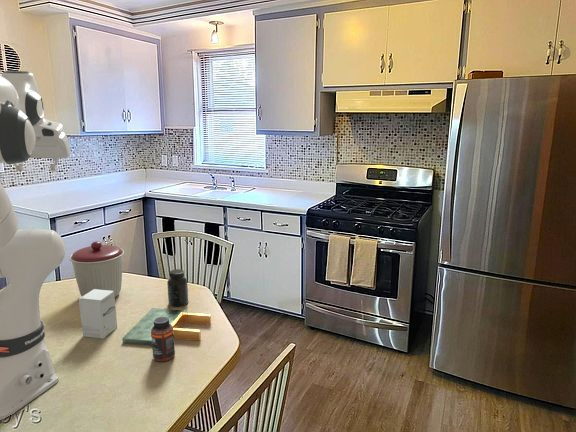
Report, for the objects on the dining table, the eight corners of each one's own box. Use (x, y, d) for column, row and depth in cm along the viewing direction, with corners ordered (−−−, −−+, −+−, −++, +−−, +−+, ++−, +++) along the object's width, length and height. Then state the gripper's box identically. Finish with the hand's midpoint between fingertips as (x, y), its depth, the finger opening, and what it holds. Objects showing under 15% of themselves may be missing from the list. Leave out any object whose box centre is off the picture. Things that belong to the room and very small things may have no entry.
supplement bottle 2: (178, 297, 155) (176, 266, 152) (192, 301, 152) (190, 270, 149) (164, 304, 149) (162, 272, 147) (178, 309, 146) (176, 276, 143)
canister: (62, 303, 149) (55, 246, 144) (98, 284, 166) (93, 232, 161) (105, 310, 144) (99, 252, 139) (137, 290, 161) (133, 237, 156)
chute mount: (194, 348, 122) (194, 339, 121) (122, 342, 124) (121, 333, 124) (215, 316, 141) (214, 308, 140) (152, 311, 144) (152, 303, 143)
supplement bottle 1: (178, 351, 120) (176, 315, 118) (170, 363, 114) (168, 325, 112) (158, 350, 121) (155, 314, 118) (149, 362, 115) (146, 324, 112)
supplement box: (104, 339, 126) (99, 300, 123) (82, 336, 128) (77, 298, 125) (118, 327, 133) (114, 290, 130) (97, 324, 135) (93, 288, 132)
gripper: (-17, 129, 119) (-5, 174, 125) (63, 131, 124) (70, 174, 130) (-8, 122, 124) (2, 165, 131) (68, 124, 129) (74, 166, 136)
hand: (37, 170), depth 131 cm, fingers open, 8 cm apart
